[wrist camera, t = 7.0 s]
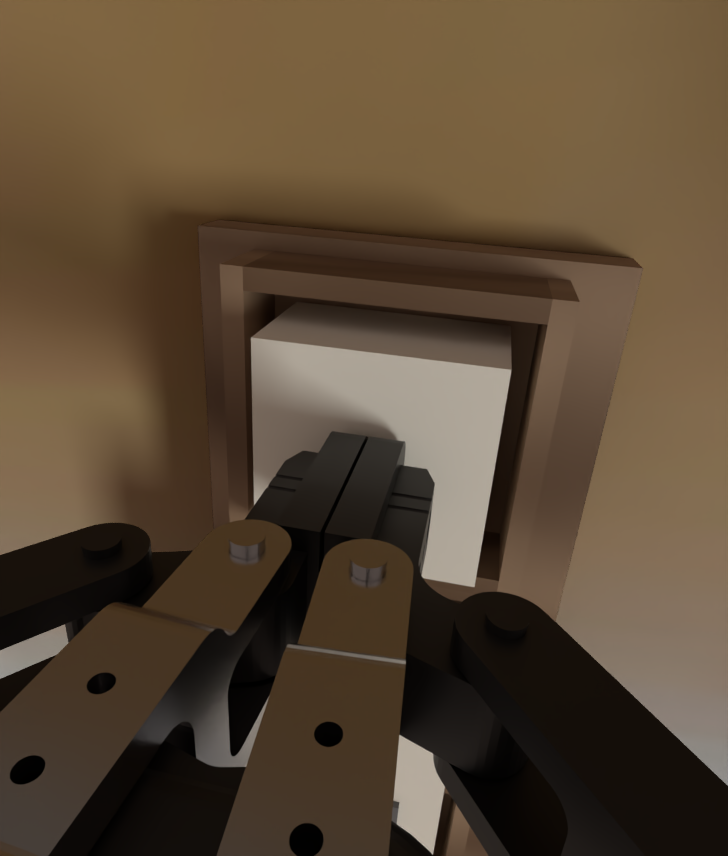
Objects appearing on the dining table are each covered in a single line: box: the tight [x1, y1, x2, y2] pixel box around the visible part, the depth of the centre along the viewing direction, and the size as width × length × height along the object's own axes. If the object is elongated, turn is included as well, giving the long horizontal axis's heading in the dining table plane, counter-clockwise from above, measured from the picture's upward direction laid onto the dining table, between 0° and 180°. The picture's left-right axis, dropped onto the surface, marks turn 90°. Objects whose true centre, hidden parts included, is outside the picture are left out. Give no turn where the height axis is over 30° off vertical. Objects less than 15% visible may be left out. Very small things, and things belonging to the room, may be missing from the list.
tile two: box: [245, 735, 445, 855], centre depth 16 cm, size 5×5×3 cm
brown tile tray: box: [198, 220, 643, 856], centre depth 18 cm, size 22×10×3 cm, turn 177°
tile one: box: [251, 302, 512, 587], centre depth 14 cm, size 5×5×3 cm
